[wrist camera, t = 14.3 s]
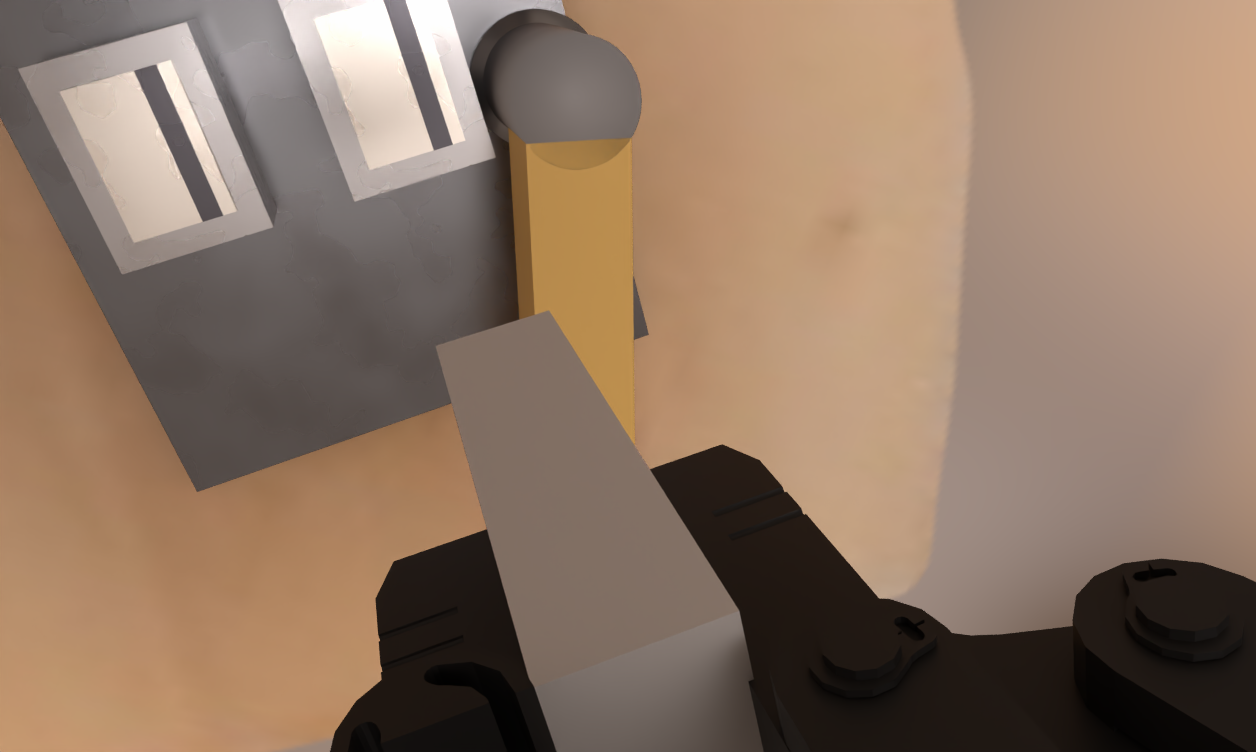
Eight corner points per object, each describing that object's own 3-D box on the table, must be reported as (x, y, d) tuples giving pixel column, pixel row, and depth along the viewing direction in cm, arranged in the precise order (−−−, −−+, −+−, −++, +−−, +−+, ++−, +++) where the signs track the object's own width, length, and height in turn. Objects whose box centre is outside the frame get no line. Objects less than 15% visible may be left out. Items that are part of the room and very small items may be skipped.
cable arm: (479, 23, 31) (509, 36, 26) (591, 20, 32) (640, 32, 27) (512, 528, 38) (541, 615, 33) (603, 514, 39) (644, 596, 34)
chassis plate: (-159, -212, 26) (-231, -238, 23) (484, -362, 28) (505, -405, 25) (200, 478, 36) (187, 532, 32) (658, 319, 38) (689, 354, 35)
